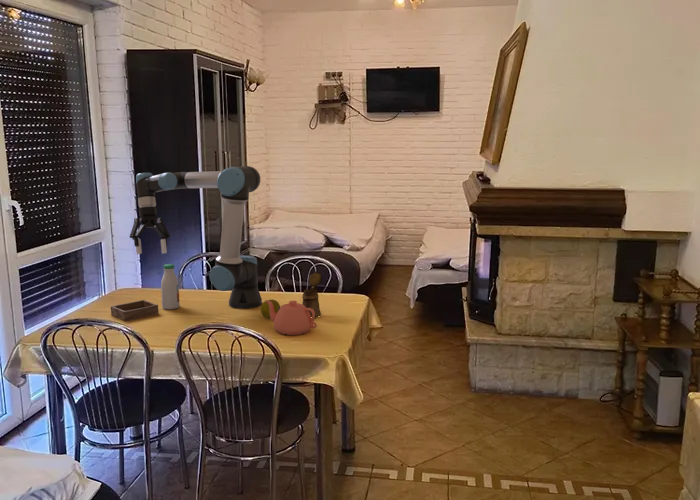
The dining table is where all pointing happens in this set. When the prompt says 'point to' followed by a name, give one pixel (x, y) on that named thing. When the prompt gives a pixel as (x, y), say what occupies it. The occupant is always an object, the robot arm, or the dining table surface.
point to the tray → (134, 310)
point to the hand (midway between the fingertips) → (152, 253)
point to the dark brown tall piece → (312, 294)
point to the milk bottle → (169, 288)
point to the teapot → (292, 318)
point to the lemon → (265, 308)
